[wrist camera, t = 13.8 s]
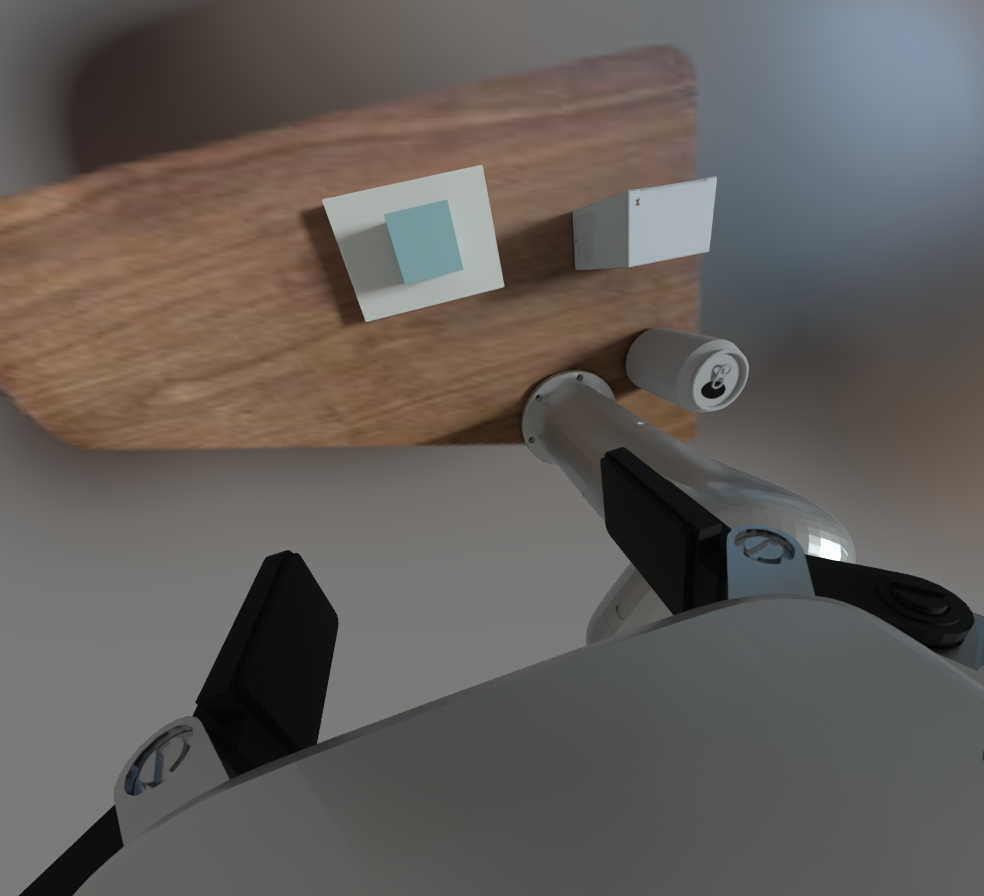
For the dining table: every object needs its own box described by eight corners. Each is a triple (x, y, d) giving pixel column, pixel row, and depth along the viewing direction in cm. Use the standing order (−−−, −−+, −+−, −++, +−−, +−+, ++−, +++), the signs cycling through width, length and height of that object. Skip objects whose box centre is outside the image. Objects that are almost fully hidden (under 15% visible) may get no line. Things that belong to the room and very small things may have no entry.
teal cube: (441, 209, 33) (447, 199, 28) (455, 270, 35) (463, 269, 31) (386, 222, 32) (383, 214, 28) (404, 283, 34) (405, 284, 30)
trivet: (477, 171, 34) (482, 164, 32) (498, 286, 39) (504, 287, 37) (327, 204, 33) (321, 199, 31) (368, 319, 37) (365, 322, 35)
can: (614, 383, 47) (676, 415, 36) (632, 322, 44) (705, 337, 33) (664, 388, 49) (737, 420, 38) (684, 330, 46) (769, 347, 35)
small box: (573, 270, 40) (625, 269, 30) (570, 210, 37) (626, 189, 28) (641, 258, 41) (711, 254, 31) (642, 198, 38) (719, 174, 29)
